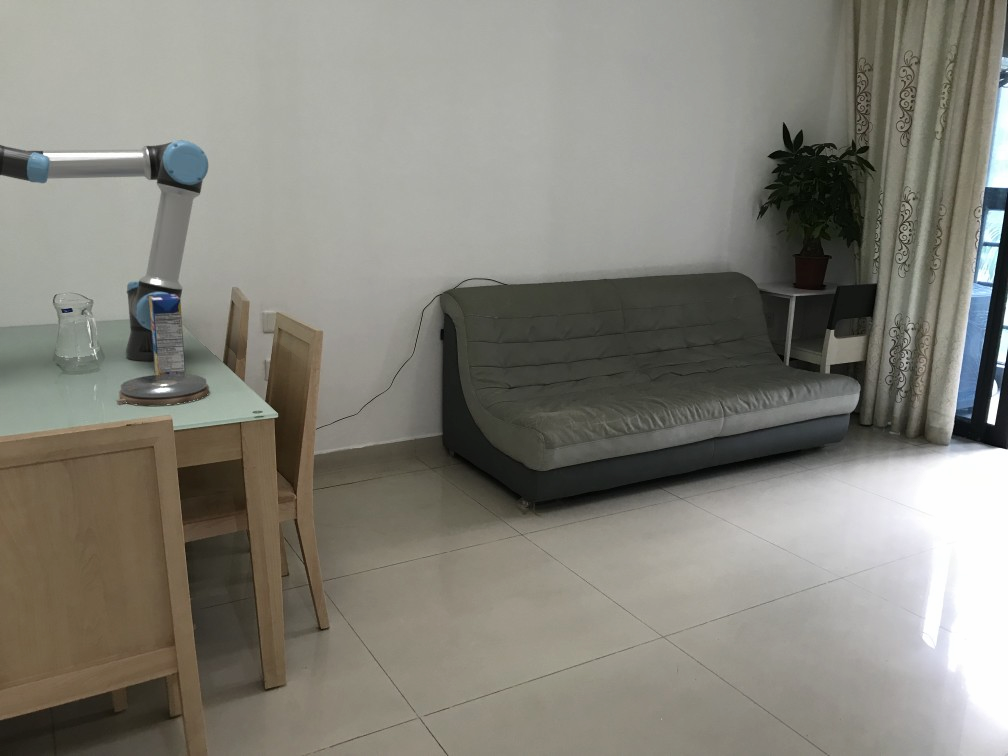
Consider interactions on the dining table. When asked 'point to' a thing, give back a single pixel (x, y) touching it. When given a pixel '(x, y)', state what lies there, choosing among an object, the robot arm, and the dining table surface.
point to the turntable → (163, 386)
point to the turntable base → (162, 401)
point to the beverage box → (167, 334)
